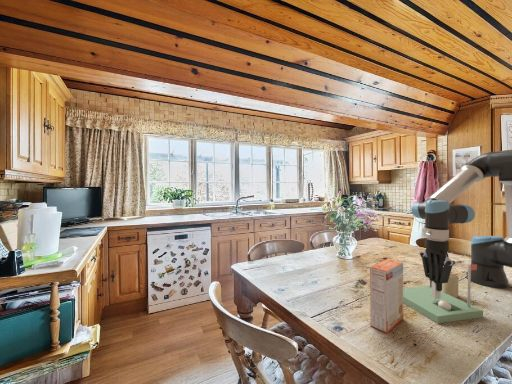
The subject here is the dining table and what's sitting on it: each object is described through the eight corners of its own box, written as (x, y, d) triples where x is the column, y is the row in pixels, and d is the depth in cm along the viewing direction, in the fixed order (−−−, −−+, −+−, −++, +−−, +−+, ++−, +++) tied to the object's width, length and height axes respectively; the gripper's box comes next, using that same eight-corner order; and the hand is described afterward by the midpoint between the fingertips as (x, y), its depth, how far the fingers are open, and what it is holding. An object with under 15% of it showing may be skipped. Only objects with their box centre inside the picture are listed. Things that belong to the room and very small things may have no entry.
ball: (442, 306, 92) (444, 297, 91) (453, 313, 88) (454, 303, 87) (434, 308, 91) (435, 298, 90) (444, 314, 87) (446, 305, 87)
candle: (442, 290, 107) (442, 269, 107) (457, 294, 104) (458, 272, 104) (442, 295, 103) (442, 272, 103) (458, 298, 99) (458, 275, 99)
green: (430, 290, 107) (430, 250, 107) (484, 316, 86) (485, 267, 85) (390, 294, 103) (390, 253, 103) (437, 323, 82) (438, 271, 81)
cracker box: (386, 312, 89) (387, 258, 89) (404, 319, 85) (404, 262, 84) (368, 325, 81) (369, 265, 80) (387, 334, 76) (387, 270, 75)
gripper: (414, 236, 98) (413, 291, 99) (445, 243, 85) (444, 306, 86) (429, 235, 100) (428, 289, 100) (461, 242, 87) (460, 304, 87)
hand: (435, 297), depth 93 cm, fingers closed
